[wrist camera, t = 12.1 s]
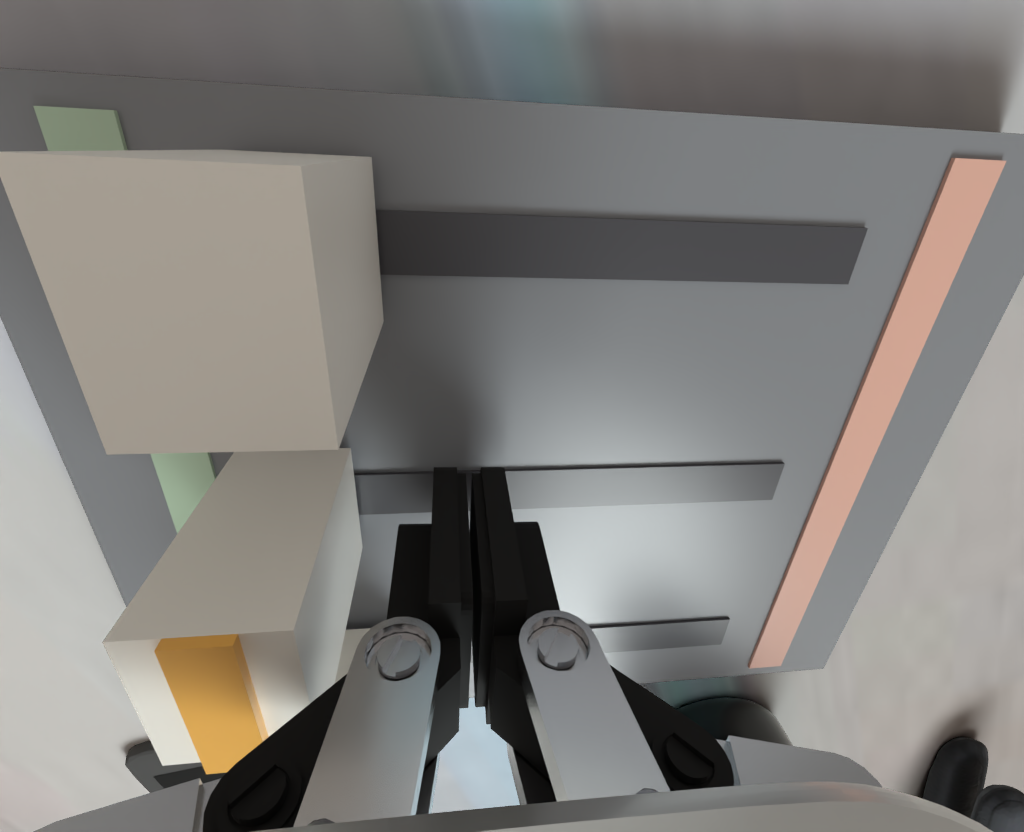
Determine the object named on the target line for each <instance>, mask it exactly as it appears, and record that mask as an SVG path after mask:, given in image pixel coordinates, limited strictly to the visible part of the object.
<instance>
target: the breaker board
mask: <svg viewBox="0 0 1024 832" xmlns="http://www.w3.org/2000/svg"><path fill="white" fill-rule="evenodd" d="M116 150H241V151H261V152H282V153H302V154H322V155H343V156H363V157H372V169H373V183H374V196H375V210H376V223H377V237H378V250H379V264H380V278H381V291H382V305H383V318H384V322H383V325H382V328H381V331H380V334H379V336H378V339H377V342H376V345H375V348H374V351H373V353H372V356H371V359H370V362H369V365H368V368H367V370H366V373H365V376H364V379H363V382H362V385H361V387H360V390H359V393H358V396H357V399H356V402H355V404H354V407H353V410H352V413H351V416H350V419H349V421H348V424H347V427H346V430H345V433H344V436H343V438H342V441H341V444H340V447H339V448H351V454H352V463H353V471H354V479H355V488H356V496H357V505H358V513H359V521H360V530H361V538H362V547H363V548H362V553H361V558H360V563H359V568H358V573H357V577H356V582H355V587H354V592H353V597H352V602H351V606H350V611H349V616H348V621H347V626H346V630H350V629H366V628H372V627H373V626H375V625H377V624H378V623H380V622H382V621H384V620H386V619H387V612H388V604H389V596H390V588H391V580H392V572H393V564H394V556H395V548H396V540H397V533H398V526H399V524H431V523H432V498H433V473H434V467H457V473H466V482H467V499H468V516H469V529H470V505H471V481H472V473H480V470H481V467H504V469H505V474H506V480H507V485H508V491H509V496H510V502H511V508H512V513H513V519H514V522H538V523H539V526H540V530H541V534H542V538H543V542H544V546H545V550H546V554H547V559H548V563H549V567H550V571H551V575H552V579H553V583H554V587H555V591H556V595H557V600H558V604H559V608H560V611H564V612H568V613H571V614H573V615H575V616H577V617H579V618H581V619H582V620H583V621H584V622H585V623H586V624H588V625H589V626H590V628H591V629H592V631H593V632H594V634H595V635H596V637H597V639H598V641H599V644H600V646H601V648H602V650H603V652H604V654H605V656H606V658H607V660H608V662H609V664H610V665H611V666H612V667H614V668H615V669H617V670H618V671H620V672H621V673H623V674H624V675H626V676H627V677H629V678H630V679H632V680H633V681H635V682H636V683H638V684H643V683H655V682H667V681H679V680H691V679H703V678H716V677H728V676H740V675H752V674H764V673H776V672H788V671H801V670H813V669H823V668H824V666H825V664H826V662H827V660H828V658H829V656H830V655H831V653H832V651H833V649H834V647H835V645H836V643H837V641H838V639H839V637H840V635H841V633H842V631H843V629H844V627H845V625H846V623H847V621H848V619H849V617H850V615H851V613H852V611H853V609H854V607H855V605H856V603H857V601H858V599H859V598H860V596H861V594H862V592H863V590H864V588H865V586H866V584H867V582H868V580H869V578H870V576H871V574H872V572H873V570H874V568H875V566H876V564H877V562H878V560H879V558H880V556H881V554H882V552H883V550H884V548H885V546H886V544H887V542H888V541H889V539H890V537H891V535H892V533H893V531H894V529H895V527H896V525H897V523H898V521H899V519H900V517H901V515H902V513H903V511H904V509H905V507H906V505H907V503H908V501H909V499H910V497H911V495H912V493H913V491H914V489H915V487H916V485H917V483H918V482H919V480H920V478H921V476H922V474H923V472H924V470H925V468H926V466H927V464H928V462H929V460H930V458H931V456H932V454H933V452H934V450H935V448H936V446H937V444H938V442H939V440H940V438H941V436H942V434H943V432H944V430H945V428H946V426H947V425H948V423H949V421H950V419H951V417H952V415H953V413H954V411H955V409H956V407H957V405H958V403H959V401H960V399H961V397H962V395H963V393H964V391H965V389H966V387H967V385H968V383H969V381H970V379H971V377H972V375H973V373H974V371H975V369H976V368H977V366H978V364H979V362H980V360H981V358H982V356H983V354H984V352H985V350H986V348H987V346H988V344H989V342H990V340H991V338H992V336H993V334H994V332H995V330H996V328H997V326H998V324H999V322H1000V320H1001V318H1002V316H1003V314H1004V312H1005V311H1006V309H1007V307H1008V305H1009V303H1010V301H1011V299H1012V297H1013V295H1014V293H1015V291H1016V289H1017V287H1018V285H1019V283H1020V281H1021V279H1022V277H1023V275H1024V134H1016V133H1000V132H985V131H969V130H954V129H938V128H923V127H907V126H892V125H876V124H861V123H845V122H830V121H814V120H799V119H783V118H768V117H752V116H737V115H721V114H706V113H690V112H675V111H659V110H644V109H628V108H613V107H597V106H582V105H566V104H551V103H535V102H520V101H504V100H489V99H473V98H458V97H442V96H427V95H412V94H396V93H381V92H365V91H350V90H334V89H319V88H303V87H288V86H272V85H257V84H241V83H226V82H210V81H195V80H179V79H164V78H148V77H133V76H117V75H102V74H86V73H71V72H55V71H40V70H24V69H9V68H0V152H4V151H116ZM0 317H1V319H2V322H3V324H4V326H5V329H6V331H7V333H8V335H9V338H10V340H11V342H12V345H13V347H14V349H15V352H16V354H17V356H18V358H19V361H20V363H21V365H22V368H23V370H24V372H25V375H26V377H27V379H28V381H29V384H30V386H31V388H32V391H33V393H34V395H35V398H36V400H37V402H38V405H39V407H40V409H41V411H42V414H43V416H44V418H45V421H46V423H47V425H48V428H49V430H50V432H51V434H52V437H53V439H54V441H55V444H56V446H57V448H58V451H59V453H60V455H61V458H62V460H63V462H64V464H65V467H66V469H67V471H68V474H69V476H70V478H71V481H72V483H73V485H74V487H75V490H76V492H77V494H78V497H79V499H80V501H81V504H82V506H83V508H84V510H85V513H86V515H87V517H88V520H89V522H90V524H91V527H92V529H93V531H94V534H95V536H96V538H97V540H98V543H99V545H100V547H101V550H102V552H103V554H104V557H105V559H106V561H107V563H108V566H109V568H110V570H111V573H112V575H113V577H114V580H115V582H116V584H117V586H118V589H119V591H120V593H121V596H122V598H123V600H124V603H125V605H126V607H127V606H128V605H129V603H130V602H131V600H132V599H133V597H134V596H135V595H136V593H137V592H138V590H139V589H140V587H141V586H142V584H143V583H144V582H145V580H146V579H147V577H148V576H149V574H150V573H151V571H152V570H153V569H154V567H155V566H156V564H157V563H158V561H159V560H160V558H161V557H162V556H163V554H164V553H165V551H166V550H167V548H168V547H169V545H170V544H171V543H172V541H173V540H174V538H175V537H176V535H177V534H178V532H179V531H180V530H181V528H182V527H183V525H184V524H185V522H186V521H187V519H188V518H189V517H190V515H191V514H192V512H193V511H194V509H195V508H196V506H197V505H198V504H199V502H200V501H201V499H202V498H203V496H204V495H205V493H206V492H207V491H208V489H209V488H210V486H211V485H212V483H213V482H214V480H215V479H216V478H217V476H218V475H219V473H220V472H221V470H222V469H223V468H224V466H225V465H226V463H227V462H228V460H229V459H230V457H231V456H232V455H233V453H234V452H207V453H159V454H111V455H107V454H106V451H105V449H104V446H103V444H102V441H101V438H100V436H99V433H98V431H97V428H96V425H95V423H94V420H93V418H92V415H91V412H90V410H89V407H88V404H87V402H86V399H85V397H84V394H83V391H82V389H81V386H80V384H79V381H78V378H77V376H76V373H75V371H74V368H73V365H72V363H71V360H70V358H69V355H68V352H67V350H66V347H65V345H64V342H63V339H62V337H61V334H60V332H59V329H58V326H57V324H56V321H55V319H54V316H53V313H52V311H51V308H50V306H49V303H48V300H47V298H46V295H45V292H44V290H43V287H42V285H41V282H40V279H39V277H38V274H37V272H36V269H35V266H34V264H33V261H32V259H31V256H30V253H29V251H28V248H27V246H26V243H25V240H24V238H23V235H22V233H21V230H20V227H19V225H18V222H17V220H16V217H15V214H14V212H13V209H12V207H11V204H10V201H9V199H8V196H7V193H6V191H5V188H4V186H3V183H2V180H1V178H0ZM473 697H475V693H474V674H473V654H472V642H471V662H470V682H469V698H473Z"/></svg>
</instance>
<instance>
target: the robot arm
mask: <svg viewBox="0 0 1024 832" xmlns="http://www.w3.org/2000/svg"><path fill="white" fill-rule="evenodd" d="M471 642H472V654H473V674H474V693H475V706H476V707H484V706H485V710H486V724H491V729H492V730H493V731H494V732H496V733H497V734H498V735H499V736H500V737H501V738H502V739H504V740H505V741H506V742H507V751H508V757H509V761H510V765H511V769H512V774H513V778H514V782H515V786H516V790H517V794H518V798H519V802H520V805H516V806H505V807H494V808H484V809H473V810H463V811H453V812H442V813H432V814H431V812H432V806H433V799H434V793H435V786H436V780H437V773H438V767H439V759H440V751H441V750H442V749H443V748H444V747H445V745H446V744H447V743H448V742H449V741H450V740H451V739H452V738H453V737H454V736H455V734H456V733H457V732H458V731H459V708H468V702H469V682H470V662H471ZM34 832H993V831H991V830H990V829H988V828H987V827H985V826H983V825H982V824H980V823H978V822H976V821H974V820H972V819H970V818H968V817H966V816H964V815H962V814H960V813H958V812H956V811H953V810H951V809H949V808H946V807H944V806H942V805H939V804H936V803H933V802H930V801H928V800H925V799H922V798H919V797H916V796H913V795H909V794H906V793H902V792H898V791H894V790H891V789H887V788H882V786H881V785H880V783H879V782H878V781H877V780H876V779H875V778H874V777H873V776H872V775H871V774H870V773H869V772H868V771H867V770H866V769H865V768H864V767H862V766H860V765H859V764H857V763H856V762H854V761H853V760H851V759H850V758H847V757H844V756H841V755H838V754H835V753H831V752H825V751H819V750H813V749H807V748H801V747H795V746H789V745H783V744H778V743H772V742H766V741H760V740H754V739H748V738H742V737H736V736H730V735H729V736H728V738H727V740H726V741H723V740H717V739H715V738H714V737H713V736H712V735H711V734H710V733H708V732H707V731H706V730H705V729H704V728H703V727H701V726H700V725H698V724H697V723H695V722H694V721H692V720H691V719H689V718H688V717H686V716H685V715H683V714H682V713H680V712H679V711H677V710H676V709H675V708H673V707H672V706H670V705H669V704H667V703H666V702H664V701H663V700H661V699H660V698H658V697H657V696H655V695H654V694H652V693H651V692H649V691H648V690H646V689H645V688H644V687H642V686H641V685H639V684H638V683H636V682H635V681H633V680H632V679H630V678H629V677H627V676H626V675H624V674H623V673H621V672H620V671H618V670H617V669H615V668H614V667H612V666H611V665H610V664H609V662H608V660H607V658H606V656H605V654H604V652H603V650H602V648H601V646H600V644H599V641H598V639H597V637H596V635H595V634H594V632H593V631H592V629H591V628H590V626H589V625H588V624H586V623H585V622H584V621H583V620H582V619H581V618H579V617H577V616H575V615H573V614H571V613H568V612H564V611H560V608H559V604H558V600H557V595H556V591H555V587H554V583H553V579H552V575H551V571H550V567H549V563H548V559H547V554H546V550H545V546H544V542H543V538H542V534H541V530H540V526H539V523H538V522H514V519H513V513H512V508H511V502H510V496H509V491H508V485H507V480H506V474H505V469H504V467H481V470H480V473H472V481H471V505H470V529H469V516H468V499H467V482H466V473H457V467H434V473H433V498H432V523H431V524H399V526H398V533H397V540H396V548H395V556H394V564H393V572H392V580H391V588H390V596H389V604H388V612H387V619H386V620H384V621H382V622H380V623H378V624H377V625H375V626H373V627H372V628H371V629H370V630H369V631H368V632H367V633H366V634H365V635H364V636H363V637H362V639H361V641H360V642H359V644H358V646H357V648H356V651H355V654H354V657H353V660H352V662H351V665H350V668H349V671H348V673H347V674H346V675H345V676H344V677H342V678H341V679H340V680H339V681H337V682H336V683H335V684H334V685H332V686H331V687H330V688H329V689H327V690H326V691H325V692H324V693H323V694H321V695H320V696H319V697H318V698H316V699H315V700H314V701H313V702H311V703H310V704H309V705H308V706H306V707H305V708H304V709H303V710H301V711H300V712H299V713H298V714H297V715H295V716H294V717H293V718H292V719H290V720H289V721H288V722H287V723H285V724H284V725H283V726H282V727H280V728H279V729H278V730H277V731H276V732H274V733H273V734H272V735H271V736H269V737H268V738H267V739H266V740H264V741H263V742H262V743H261V744H259V745H258V746H257V747H256V748H254V749H253V750H252V751H251V752H250V753H248V754H247V755H246V756H245V757H243V758H242V759H241V760H240V761H238V762H237V763H236V764H235V765H234V766H233V767H232V768H231V769H230V770H229V771H228V772H227V773H226V774H225V775H224V776H223V777H222V778H220V779H217V780H214V781H211V782H207V783H204V784H202V782H201V779H200V778H198V779H195V780H192V781H188V782H185V783H182V784H178V785H175V786H172V787H169V788H165V789H162V790H159V791H155V792H152V793H149V794H145V795H142V796H139V797H136V798H132V799H129V800H126V801H122V802H119V803H116V804H112V805H109V806H106V807H103V808H99V809H96V810H93V811H89V812H86V813H83V814H79V815H76V816H73V817H69V818H66V819H63V820H60V821H56V822H54V823H52V824H50V825H47V826H45V827H43V828H41V829H38V830H36V831H34Z"/></svg>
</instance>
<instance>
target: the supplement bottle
mask: <svg viewBox="0 0 1024 832" xmlns="http://www.w3.org/2000/svg"><path fill="white" fill-rule="evenodd" d="M676 710H677V711H679V712H680V713H682V714H683V715H685V716H686V717H688V718H689V719H691V720H692V721H694V722H695V723H697V724H698V725H700V726H701V727H703V728H704V729H705V730H706V731H707V732H708V733H710V734H711V735H712V736H713V737H714V738H715V739H717V740H723V741H726V740H727V738H728V736H729V735H730V736H736V737H742V738H748V739H754V740H760V741H766V742H772V743H778V744H783V745H789V746H793V745H792V743H791V742H790V740H789V738H788V736H787V735H786V733H785V731H784V730H783V728H782V726H781V725H780V723H779V722H778V720H777V719H776V717H775V716H774V715H773V714H772V713H771V712H770V711H769V710H767V709H766V708H765V707H763V706H761V705H759V704H757V703H755V702H753V701H749V700H746V699H741V698H729V697H727V698H713V699H707V700H702V701H698V702H695V703H692V704H689V705H686V706H683V707H681V708H679V709H676Z"/></svg>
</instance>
